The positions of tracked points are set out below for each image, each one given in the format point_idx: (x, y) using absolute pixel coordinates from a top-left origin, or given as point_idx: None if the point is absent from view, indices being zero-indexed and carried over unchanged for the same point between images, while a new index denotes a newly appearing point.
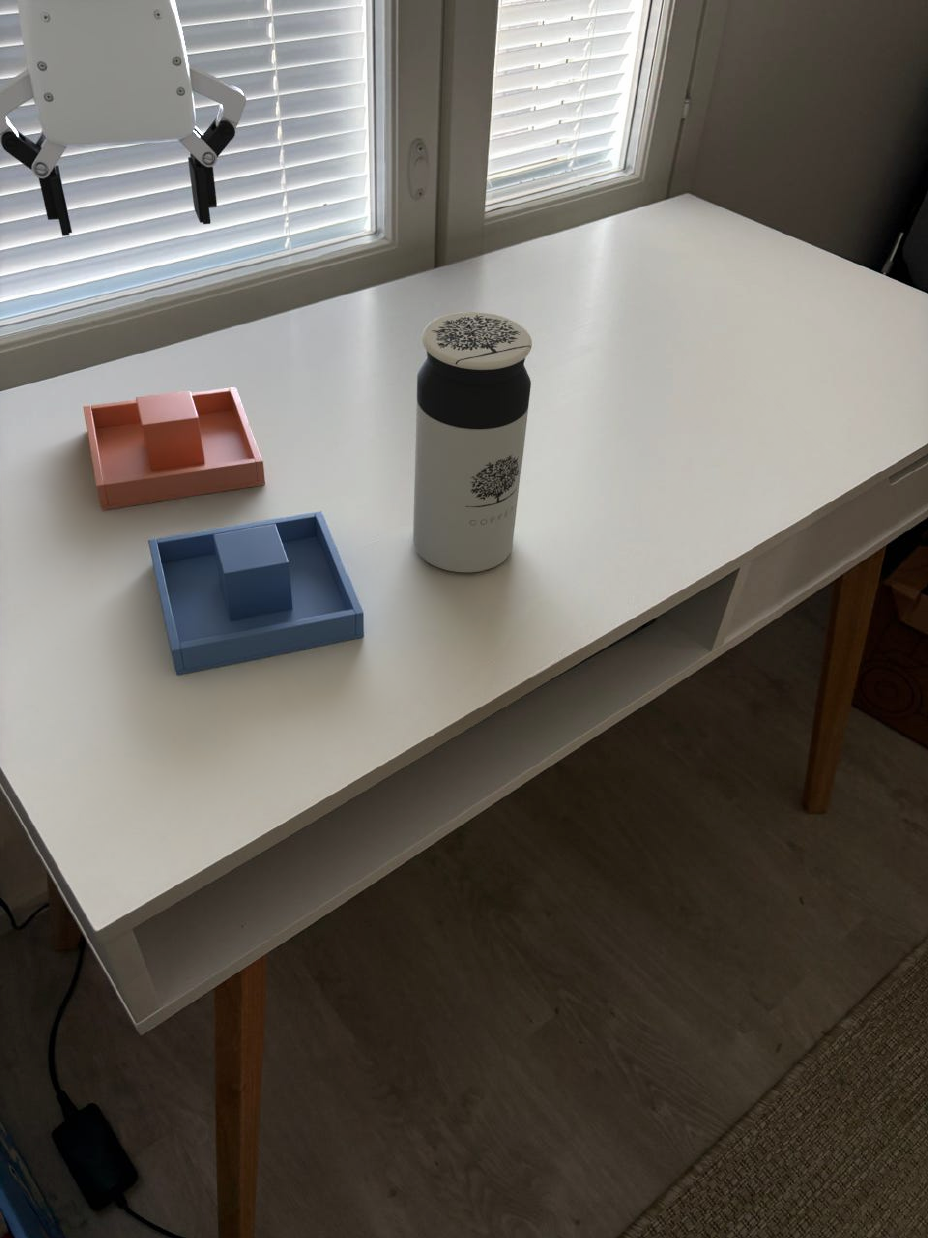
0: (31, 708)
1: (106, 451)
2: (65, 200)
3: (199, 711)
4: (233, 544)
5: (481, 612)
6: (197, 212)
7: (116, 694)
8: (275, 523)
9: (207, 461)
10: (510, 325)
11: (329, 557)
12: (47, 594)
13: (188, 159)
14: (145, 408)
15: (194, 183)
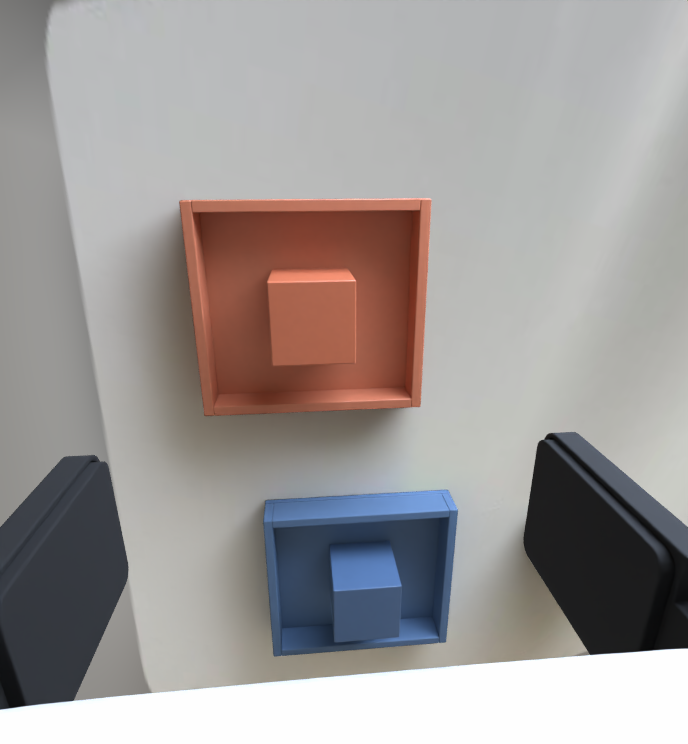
0: (155, 640)
1: (216, 281)
2: (82, 587)
3: (289, 661)
4: (351, 607)
5: (544, 607)
6: (535, 518)
7: (225, 638)
8: (403, 519)
9: None
10: None
11: (441, 558)
12: (156, 521)
13: (652, 564)
14: (280, 322)
15: (590, 609)
